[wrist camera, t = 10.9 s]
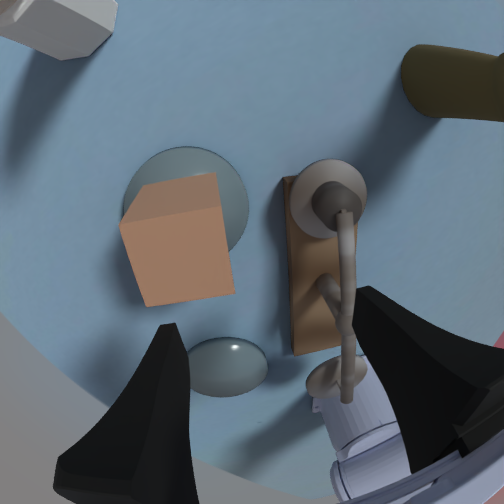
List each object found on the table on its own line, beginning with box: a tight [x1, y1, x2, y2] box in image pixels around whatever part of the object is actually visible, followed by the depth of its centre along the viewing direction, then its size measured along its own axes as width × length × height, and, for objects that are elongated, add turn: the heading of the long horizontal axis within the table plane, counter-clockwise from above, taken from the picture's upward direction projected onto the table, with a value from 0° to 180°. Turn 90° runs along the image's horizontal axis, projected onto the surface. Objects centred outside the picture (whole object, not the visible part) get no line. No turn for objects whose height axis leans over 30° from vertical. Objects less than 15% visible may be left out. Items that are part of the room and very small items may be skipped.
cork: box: [401, 45, 504, 122], centre depth 12 cm, size 6×6×11 cm
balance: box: [283, 159, 368, 404], centre depth 20 cm, size 19×5×8 cm, turn 6°
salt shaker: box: [0, 0, 118, 61], centre depth 7 cm, size 5×5×11 cm
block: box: [119, 172, 235, 307], centre depth 16 cm, size 4×4×6 cm
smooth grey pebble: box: [187, 337, 268, 397], centre depth 27 cm, size 8×8×1 cm
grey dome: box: [124, 146, 249, 252], centre depth 19 cm, size 8×8×1 cm
